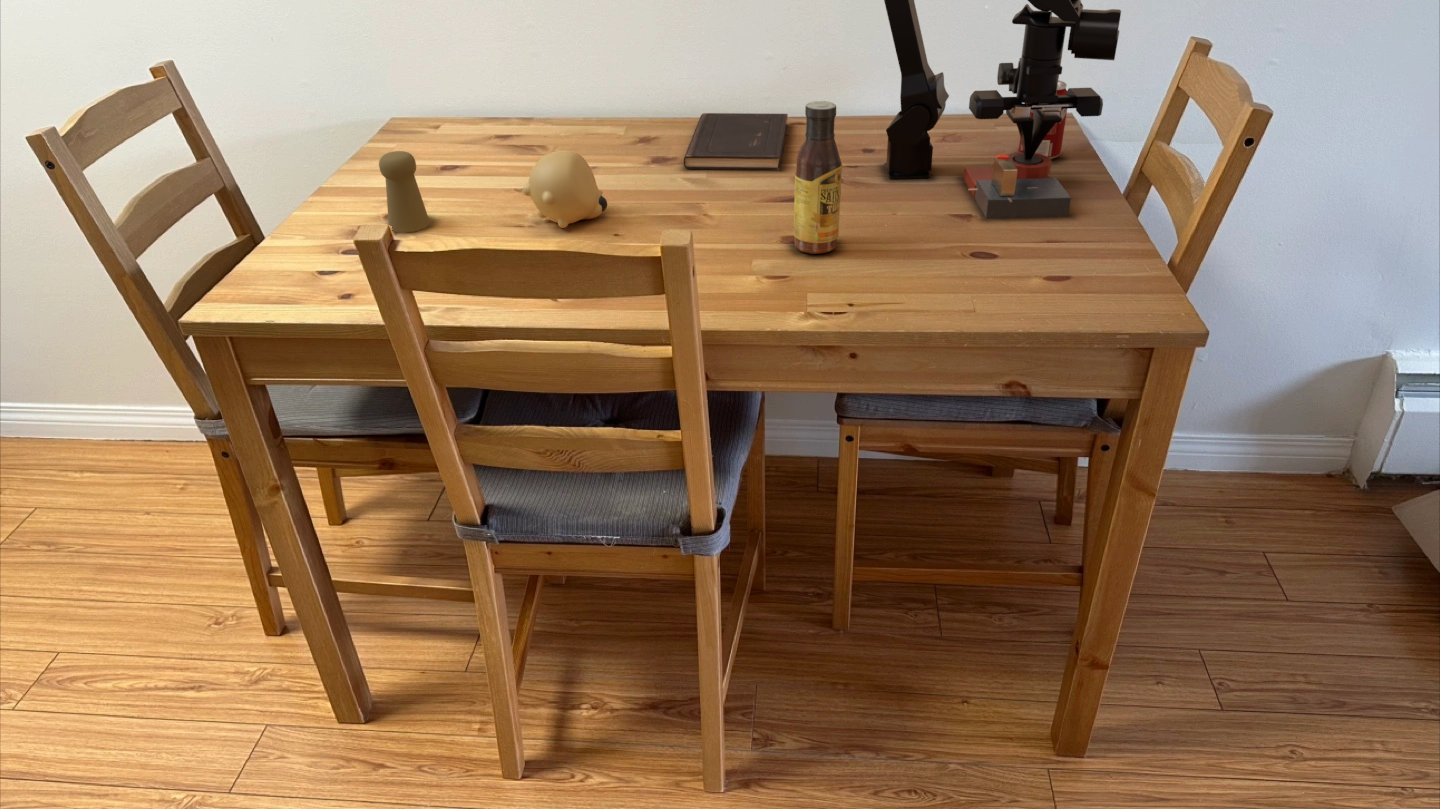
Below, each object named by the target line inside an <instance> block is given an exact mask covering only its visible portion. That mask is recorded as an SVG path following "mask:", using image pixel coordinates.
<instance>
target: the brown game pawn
mask: <svg viewBox="0 0 1440 809" xmlns="http://www.w3.org/2000/svg"><path fill="white" fill-rule="evenodd" d="M378 168H379V172H380V173H381V174H380V175H381V176H383V178H385V193H386V205H387V207H386V208H387V222H388V226H389V225H390V226H392V229H393V231H392V232H393V233H399V234H408V233H415V232H418V231H422V230H424V229H426V228H427V227H428V226H430V224H431V222H430V219H429V218H430V217H429V216H428V212H427V210H426V206H425V203H424V201H423V197H422V194H421V191H420V188H419V185H418V182H417V179H416V176H415V173H416V171H417V162H416V159H415V157H414V156H413V154H412V153H410V152H408V151H405V150H396V151H389V152H386V153H384V154H383V155H381V157H380V158H379V161H378Z"/></svg>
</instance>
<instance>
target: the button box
mask: <svg viewBox="0 0 1440 809" xmlns="http://www.w3.org/2000/svg"><path fill="white" fill-rule="evenodd" d="M1022 154H1024V153H1023V152H1019V151H1017V152H1013V153H1009V154H1007V155H1008V156H1009V158H1010V160H1011V161H1012V163H1013V164H1014V166H1015V167H1016V169H1017V178H1016V179H1042V178H1051V177H1050V176H1049V175H1050V174H1051V169H1052V162H1053V161H1052V159H1051V160H1050V158H1049V157H1047V156H1044V155H1042V154H1038V153H1035V154H1034V155H1035V156H1038V157H1040V158H1041V163H1040V164H1036V165H1025V164H1019V163H1017V162H1014V159H1015V157H1016V156H1018V155H1022ZM992 173H993V165H992V166H991V165H990V166H964V170H963V178H962V179H963V180H964V182H965V184H966V186H967V187H968V188H967V189H976V182H977V180H992ZM975 191H976V190H972V191H970V193H971V195H972V197H973V198H975Z"/></svg>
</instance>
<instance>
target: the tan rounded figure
mask: <svg viewBox="0 0 1440 809" xmlns="http://www.w3.org/2000/svg"><path fill="white" fill-rule="evenodd" d="M522 193H523V194H524V196H529V197H530V198H531V200H532V203H533V204H534V205H535V207H536V208H537V216H538V217H539V218H541V219H545V218H547V219H548V220H550V221H552V222H554V223H557V225H558V227H559V228H561V229H565V228H567V227H568V226H569V225H570V224H574V223H577V222H579V221H581V220H593V219H595V218H597V217H599V216H600V215H602V213H604V212H605V211H607V208H608V200H607V198H606V197H605V196H603V193H604V192H603V190H600V189H599V187H598V185H597V181H596V178H595V175H594V173H593V171H592V169H591V167H590V165H589V163H588V162H587V160H586V159H585V157H584V156H582V155H581V154H579V153H578V152H577V151H576V152H575V151H573V150H566V149H565V150H564V149H563V150H555V151H552V152H549V153H547V154H545V155H544V156H543V155H542V157H541V158H539V160H538V161H537V162H536V163H535V164H534V165H533V167H532V169H531V171H530V173H529V177H528V183H526V184H525V185H524V186H523V187H522Z"/></svg>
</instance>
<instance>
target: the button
mask: <svg viewBox="0 0 1440 809" xmlns="http://www.w3.org/2000/svg"><path fill="white" fill-rule="evenodd" d="M1014 162H1017V163H1019V164H1025V165H1036V164H1040V163H1041V158H1040V157H1038V156H1035V155H1033V157H1032V159H1025V157H1024V154H1022V155H1018V156H1016V157H1015V159H1014Z"/></svg>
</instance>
